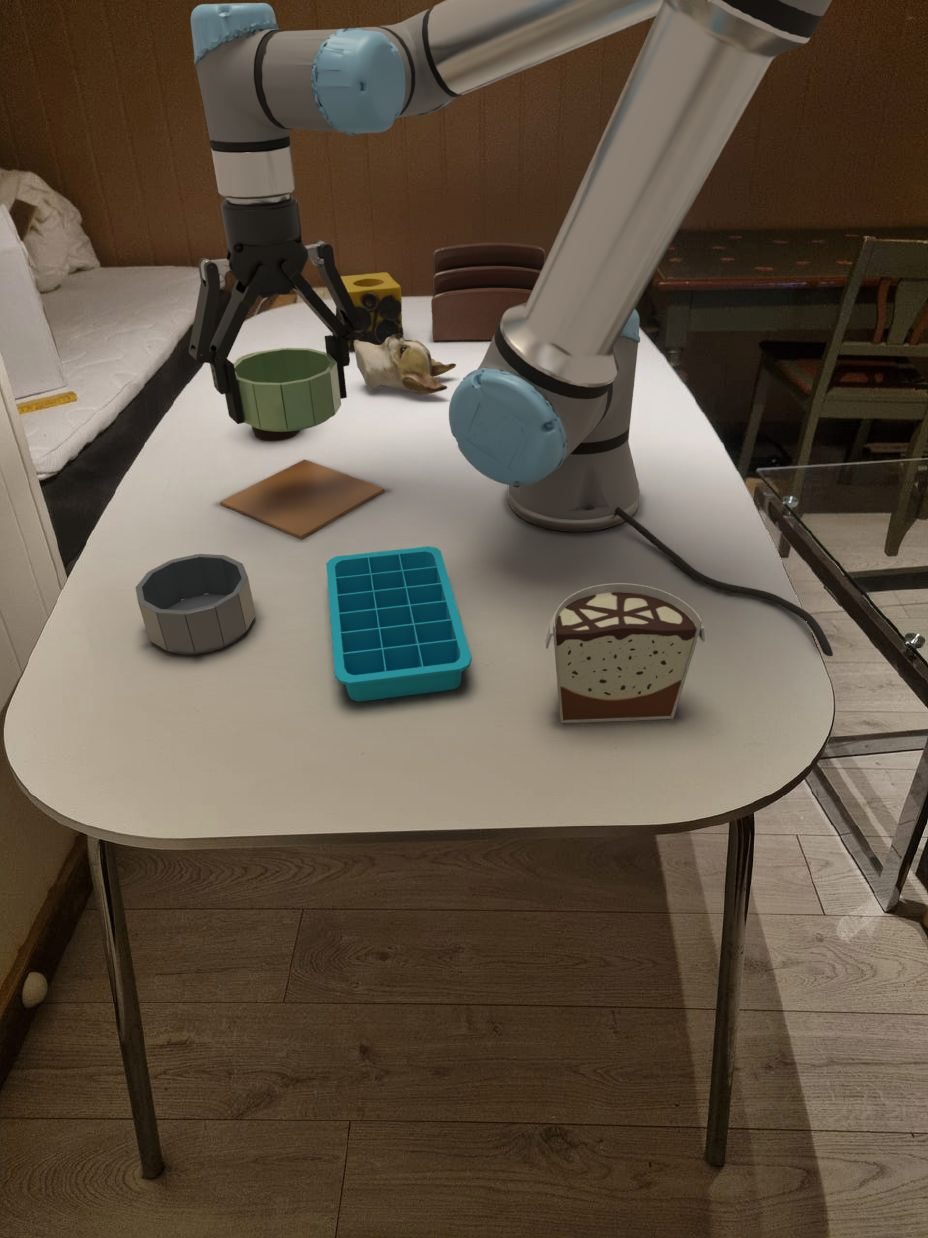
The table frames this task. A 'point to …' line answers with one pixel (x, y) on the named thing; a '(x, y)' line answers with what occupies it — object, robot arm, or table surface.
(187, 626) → the grey bowl
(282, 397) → the green bowl
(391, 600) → the ice cube tray
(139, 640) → the table surface
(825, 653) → the robot arm
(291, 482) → the cork mat
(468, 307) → the letter holder
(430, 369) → the ceramic sculpture
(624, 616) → the food container
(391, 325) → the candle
